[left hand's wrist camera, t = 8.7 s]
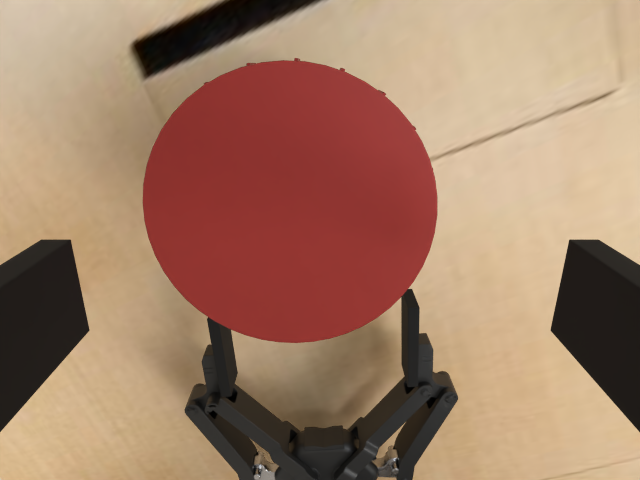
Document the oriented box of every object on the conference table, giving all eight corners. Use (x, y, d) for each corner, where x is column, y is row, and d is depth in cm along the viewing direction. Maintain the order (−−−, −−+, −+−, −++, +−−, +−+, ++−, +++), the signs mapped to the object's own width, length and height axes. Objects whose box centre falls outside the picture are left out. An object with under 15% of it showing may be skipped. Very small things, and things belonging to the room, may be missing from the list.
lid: (342, 352, 22) (344, 384, 19) (122, 249, 20) (98, 271, 18) (479, 149, 18) (499, 160, 16) (228, 1, 16) (214, -9, 14)
